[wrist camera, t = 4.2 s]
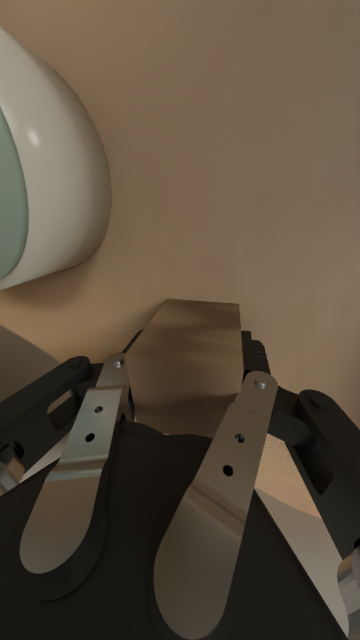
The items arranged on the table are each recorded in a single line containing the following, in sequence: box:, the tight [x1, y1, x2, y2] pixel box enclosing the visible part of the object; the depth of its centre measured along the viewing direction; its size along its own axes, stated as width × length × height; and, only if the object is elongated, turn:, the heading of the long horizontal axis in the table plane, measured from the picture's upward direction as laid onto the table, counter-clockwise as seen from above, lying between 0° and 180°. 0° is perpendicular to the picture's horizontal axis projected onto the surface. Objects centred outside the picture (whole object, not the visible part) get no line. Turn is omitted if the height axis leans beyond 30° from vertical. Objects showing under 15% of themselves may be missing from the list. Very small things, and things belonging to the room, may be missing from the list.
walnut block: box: [125, 299, 244, 438], centre depth 11 cm, size 4×4×6 cm
